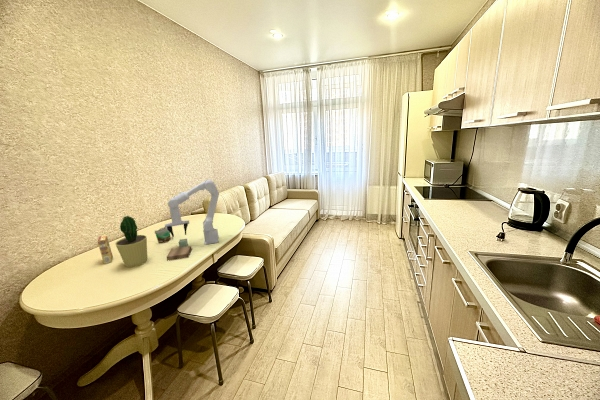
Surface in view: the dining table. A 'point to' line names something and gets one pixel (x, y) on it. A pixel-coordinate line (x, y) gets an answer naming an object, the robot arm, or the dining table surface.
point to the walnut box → (179, 253)
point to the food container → (162, 235)
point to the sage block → (183, 243)
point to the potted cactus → (132, 244)
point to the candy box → (105, 249)
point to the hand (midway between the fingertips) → (179, 235)
